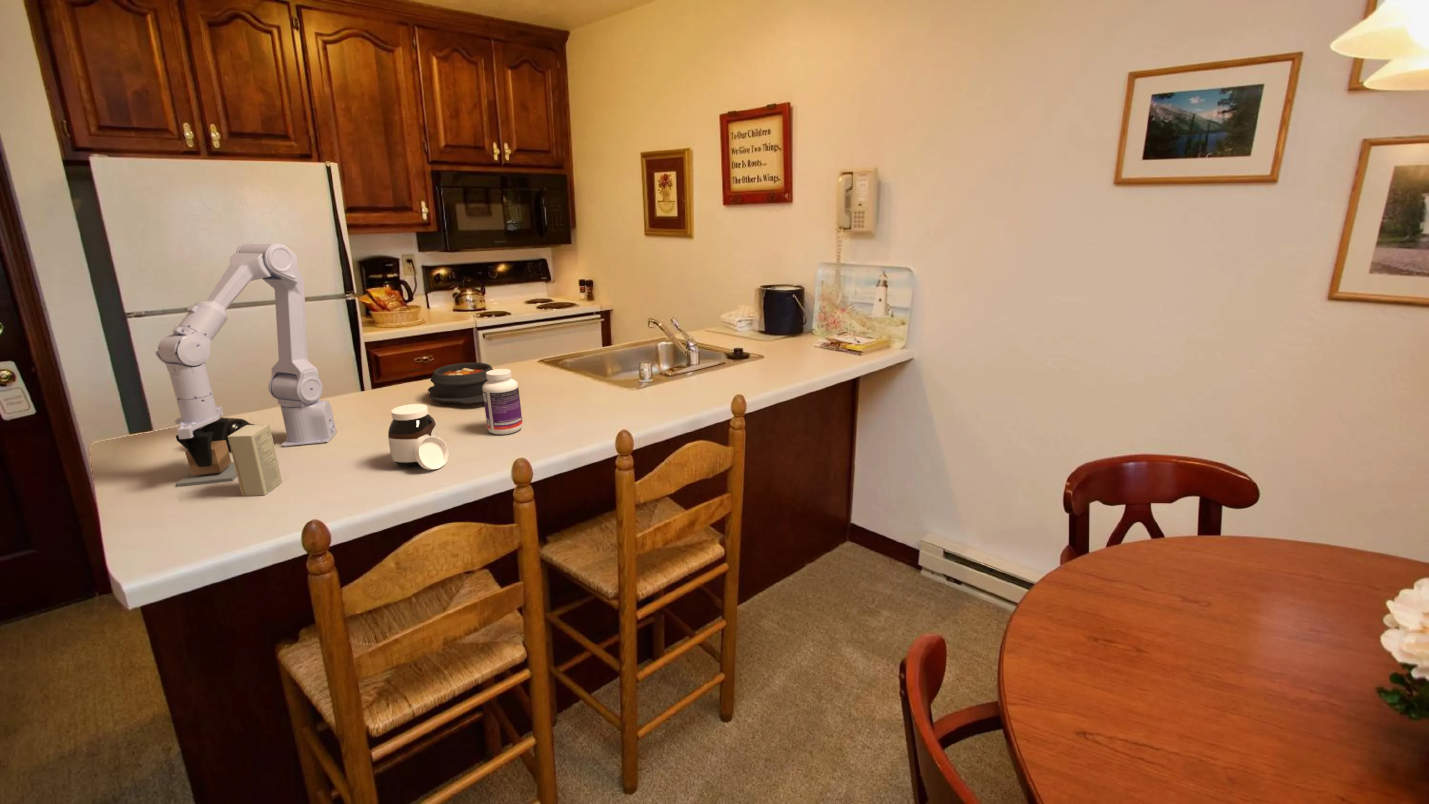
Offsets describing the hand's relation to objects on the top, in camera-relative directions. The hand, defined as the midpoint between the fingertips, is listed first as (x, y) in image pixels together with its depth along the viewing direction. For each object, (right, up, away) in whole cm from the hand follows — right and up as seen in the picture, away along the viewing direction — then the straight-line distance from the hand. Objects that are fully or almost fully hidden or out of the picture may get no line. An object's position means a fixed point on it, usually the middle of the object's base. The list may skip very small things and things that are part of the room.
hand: (211, 460), depth 132 cm
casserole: (+32, +13, +50) cm, 61 cm away
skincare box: (+15, -5, -6) cm, 17 cm away
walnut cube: (0, -2, 0) cm, 2 cm away
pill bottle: (+51, +5, +24) cm, 57 cm away
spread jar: (+40, -1, +6) cm, 41 cm away
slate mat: (0, -3, +1) cm, 3 cm away
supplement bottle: (-13, +5, +15) cm, 21 cm away
